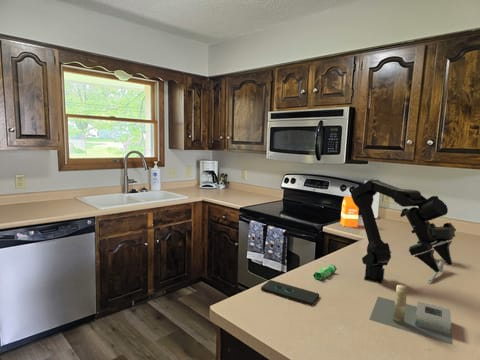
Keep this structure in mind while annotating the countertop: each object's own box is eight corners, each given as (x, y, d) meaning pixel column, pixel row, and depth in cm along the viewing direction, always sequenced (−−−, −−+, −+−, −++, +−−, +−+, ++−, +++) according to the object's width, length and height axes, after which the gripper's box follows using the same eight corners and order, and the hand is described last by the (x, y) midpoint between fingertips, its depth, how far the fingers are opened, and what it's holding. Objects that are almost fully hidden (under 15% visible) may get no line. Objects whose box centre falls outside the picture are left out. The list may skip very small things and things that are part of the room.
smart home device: (270, 279, 125) (319, 293, 115) (270, 283, 125) (319, 297, 115) (260, 287, 118) (312, 302, 108) (260, 291, 118) (311, 307, 108)
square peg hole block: (414, 325, 98) (416, 313, 97) (416, 312, 105) (417, 301, 105) (449, 335, 93) (451, 322, 93) (448, 321, 101) (449, 309, 100)
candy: (322, 280, 127) (318, 270, 128) (316, 282, 129) (311, 272, 130) (337, 272, 135) (333, 262, 136) (331, 274, 137) (327, 265, 139)
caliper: (440, 270, 143) (441, 256, 142) (442, 270, 142) (444, 257, 142) (427, 283, 129) (429, 268, 128) (430, 284, 128) (432, 269, 127)
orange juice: (357, 227, 210) (359, 197, 207) (343, 227, 210) (346, 197, 207) (353, 224, 217) (355, 195, 215) (340, 224, 217) (342, 195, 215)
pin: (392, 322, 99) (396, 287, 98) (393, 317, 102) (397, 283, 100) (403, 325, 98) (407, 290, 96) (404, 320, 100) (407, 286, 99)
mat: (369, 320, 100) (369, 319, 100) (377, 297, 116) (377, 296, 116) (452, 345, 89) (452, 344, 89) (449, 315, 104) (449, 315, 104)
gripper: (428, 221, 99) (456, 270, 94) (455, 211, 109) (480, 255, 104) (398, 232, 107) (421, 277, 102) (425, 222, 118) (447, 263, 113)
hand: (444, 268), depth 105 cm, fingers open, 9 cm apart
